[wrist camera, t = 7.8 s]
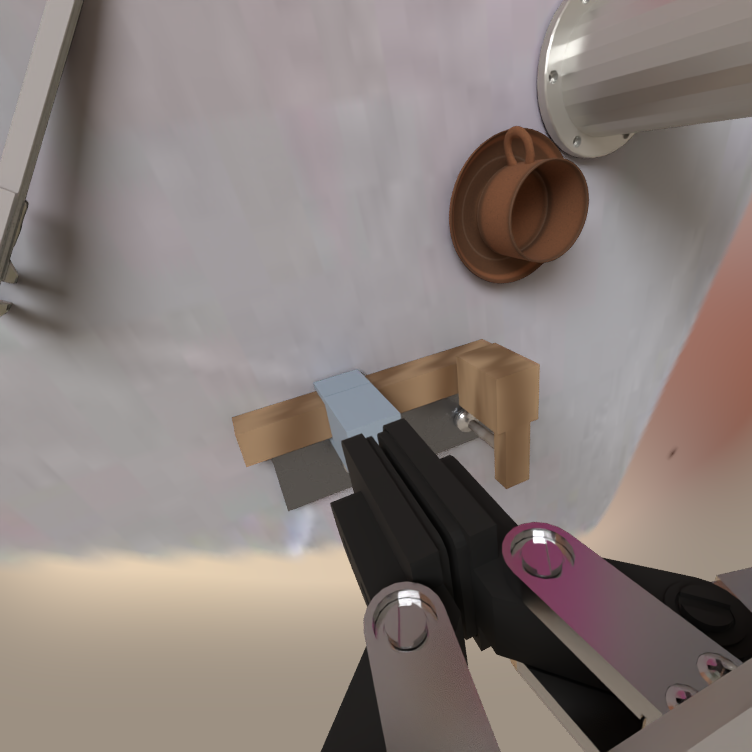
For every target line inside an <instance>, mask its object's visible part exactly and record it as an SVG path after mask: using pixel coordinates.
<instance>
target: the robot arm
mask: <svg viewBox="0 0 752 752" xmlns="http://www.w3.org/2000/svg"><path fill="white" fill-rule="evenodd" d="M537 91H538V103H539V107H540V112H541V116H542V119H543V122H544V124H545V127H546V129H547V132H548V133H549V135H550V136H551V138H552V139H553V141H554V143H555V144H557V145H558V146H559V147H560V148H561V149H562V150H563V151H564V152H566V153H568V154H570V155H571V156H574V157H579V158H596V157H601V156H606V155H608V154H610V153H612V152H614V151H616V150H617V149H619V148H620V147H622V146H623V145H624V144H626V143H627V141H628V140H629V139H630V138H631V137H632V136H633V135H634V134H635V133H636V132H643V131H651V130H658V129H665V128H673V127H680V126H688V125H695V124H702V123H710V122H717V121H725V120H732V119H739V118H747V117H752V0H563V2H562V3H561V5H560V6H559V8H558V9H557V11H556V12H555V14H554V16H553V18H552V20H551V23H550V25H549V27H548V29H547V32H546V35H545V38H544V41H543V44H542V47H541V53H540V58H539V64H538V75H537ZM377 438H378V443H379V445H378V444H377V442H376V441H375V439H374V438H373V436H369V437H367V438H365V436H364V435H363V434H362V433H361V434H358V435H355V436H353V437H350V438H347V439H344V440H342V441H341V445H342V449H343V453H344V456H345V460H346V464H347V468H348V472H349V475H350V479H351V483H352V487H353V491H354V494H351V495H349V496H346V497H344V498H341V499H339V500H336V501H334V502H331V503H330V504H331V508H332V511H333V515H334V518H335V521H336V525H337V528H338V531H339V534H340V537H341V540H342V543H343V546H344V548H345V551H346V554H347V556H348V559H349V562H350V564H351V567H352V569H353V572H354V574H355V577H356V580H357V582H358V585H359V587H360V590H361V592H362V595H363V597H364V600H365V602H366V605H367V610H366V613H365V616H364V635H365V640H366V648H365V650H364V653H363V655H362V657H361V660H360V662H359V664H358V667H357V669H356V671H355V674H354V676H353V678H352V680H351V683H350V685H349V688H348V690H347V692H346V694H345V697H344V699H343V702H342V704H341V706H340V708H339V711H338V713H337V715H336V718H335V720H334V722H333V725H332V727H331V729H330V731H329V734H328V736H327V738H326V741H325V743H324V745H323V748H322V750H321V752H501V751H500V749H499V746H498V743H497V741H496V738H495V736H494V733H493V731H492V728H491V725H490V723H489V721H488V718H487V715H486V713H485V710H484V707H483V705H482V702H481V700H480V697H479V695H478V693H477V689H476V687H475V684H474V682H473V679H472V677H471V674H470V672H469V669H468V663H467V655H466V647H465V640H464V638H465V639H466V640H467V639H469V638H471V637H473V638H474V640H475V641H476V643H477V645H478V646H479V648H480V650H481V651H483V650H485V649H487V648H489V647H490V646H491V647H492V648H493V649H494V651H495V653H496V654H497V655H500V656H503V657H506V658H509V659H510V661H511V663H512V664H513V666H514V667H515V669H516V671H517V672H518V673H519V674H520V676H521V677H522V678H523V679H524V680H525V681H526V682H527V684H528V685H529V686H530V687H531V689H532V690H533V691H534V692H535V693H536V694H537V696H538V697H539V698H540V699H541V700H542V702H543V703H544V704H545V705H546V706H547V708H548V709H549V710H550V711H551V712H552V714H553V715H554V716H555V717H556V718H557V720H558V721H559V722H560V723H561V724H562V726H563V727H564V728H565V729H566V730H567V731H568V733H569V734H570V735H571V736H572V737H573V739H574V740H575V741H576V742H577V743H578V745H579V746H580V747H581V748H582V749H583V750H584V752H752V567H751V568H746V569H742V570H738V571H733V572H729V573H725V574H720V575H717V576H716V578H715V581H713V582H709V581H706V580H702V579H699V578H696V577H691V576H686V575H681V574H677V573H672V572H668V571H663V570H658V569H653V568H649V567H644V566H639V565H635V564H630V563H625V562H620V561H616V560H611V559H606V558H602V557H600V556H599V555H598V554H596V553H595V552H594V551H592V550H591V549H590V548H588V547H587V546H586V545H584V544H583V543H581V542H580V541H579V540H577V539H576V538H575V537H573V536H572V535H571V534H569V533H568V532H566V531H564V530H563V529H561V528H559V527H557V526H554V525H551V524H548V523H540V522H531V523H524V524H521V525H519V526H518V525H517V524H516V523H515V522H514V521H513V520H512V519H511V518H510V516H509V515H508V514H507V513H506V512H505V511H504V510H503V509H502V508H501V507H500V506H499V505H498V504H497V502H496V501H495V500H494V499H493V498H492V497H491V496H490V495H489V494H488V493H487V492H486V491H485V490H484V488H483V487H482V486H481V485H480V484H479V483H478V482H477V481H476V480H475V479H474V478H473V477H472V476H471V474H470V473H469V472H468V471H467V470H466V469H465V468H464V467H463V466H462V465H461V464H460V463H459V461H458V460H457V459H455V458H454V457H453V456H450V455H449V456H446V457H444V458H441V459H439V458H438V456H437V455H436V454H435V453H434V452H433V451H432V450H431V448H430V447H429V446H428V445H427V444H426V443H425V441H424V440H423V439H422V438H421V437H420V436H419V435H418V433H417V432H416V431H415V430H414V429H413V428H412V426H411V425H410V424H409V423H408V422H407V421H406V420H405V419H404V418H402V419H399V420H396V421H394V422H391V423H388V424H385V425H383V432H380V433H378V434H377Z"/></svg>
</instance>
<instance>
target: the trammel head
mask: <svg viewBox="0 0 752 752" xmlns="http://www.w3.org/2000/svg"><path fill="white" fill-rule="evenodd" d="M314 388H315V390H316V391H317V393H318V395H319V396H320V398H321V399H322V401H323V402H324V404H325V407H326V411H327V416H328V420H329V424H330V429H331V433H332V437H331V438H329V440H330V441H331V443H332V445H333V447H334V448H335V450H336V452H337V453H338V455H339V457H340V459H341V460H342V462H343V464H344V466H345V467H346V469H347V471H348V468H347V464H346V460H345V456H344V453H343V449H342V445H341V441H342V440H344V439H347V438H350V437H353V436H355V435H358V434H361V433H362V434H363V435H364V436H365V438H367V437H369V436H373V438H374V439H375V441H376V442H377V444H378V445H379V443H378V438H377V434H378V433H380V432H383V425H385V424H388V423H391V422H394V421H396V420H399V419H401V415H400V412H399V411H398V410H397V409H396V408H395V407H394V406H393V405H392V404H391V403H390V402H389V401H388V400H387V399H386V398H385V397H384V396H383V395H382V394H381V393H380V392H379V391H378V390H377V389H376V388H375V387H374V386H373V385H372V384H371V383H370V381H369V380H368V379H367V378H366V377H365V376H364V375H363V374H362V373H361V372H360V371H359V370H358V369H356V370H353V371H350V372H346V373H343V374H340V375H337V376H333V377H330V378H327V379H324V380H320V381H317V382H314Z"/></svg>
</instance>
